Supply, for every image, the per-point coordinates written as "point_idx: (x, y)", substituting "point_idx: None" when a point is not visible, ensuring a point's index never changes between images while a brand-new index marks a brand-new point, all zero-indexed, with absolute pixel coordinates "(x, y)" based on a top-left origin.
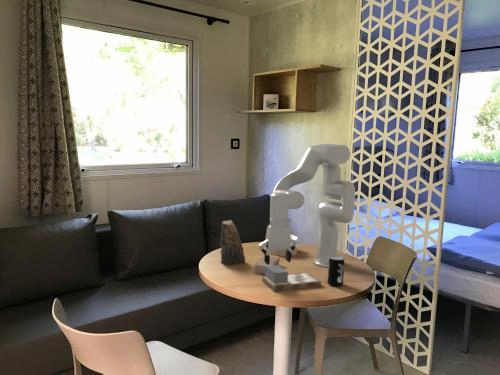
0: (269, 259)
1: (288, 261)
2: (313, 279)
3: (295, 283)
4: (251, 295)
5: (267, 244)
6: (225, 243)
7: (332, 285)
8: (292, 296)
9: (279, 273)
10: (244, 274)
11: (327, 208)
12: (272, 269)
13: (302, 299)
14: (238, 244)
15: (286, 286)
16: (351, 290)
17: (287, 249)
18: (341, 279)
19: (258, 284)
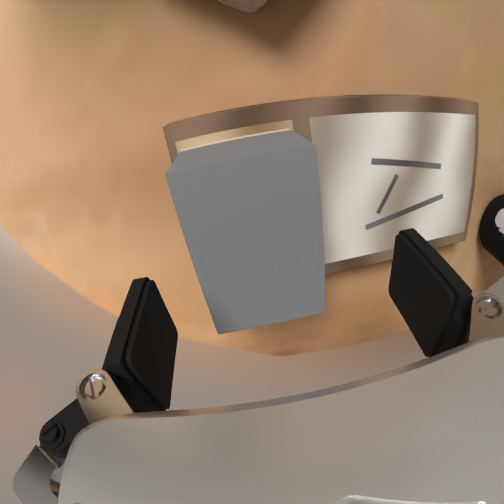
0: (171, 373)
1: (390, 288)
2: (455, 214)
3: (351, 258)
4: (105, 307)
5: (101, 470)
6: None
7: (481, 239)
8: (286, 324)
9: (257, 322)
10: (79, 7)
11: None
12: (217, 262)
13: (313, 344)
14: None
15: None
16: (493, 272)
17: (472, 333)
18: None
19: (137, 175)
